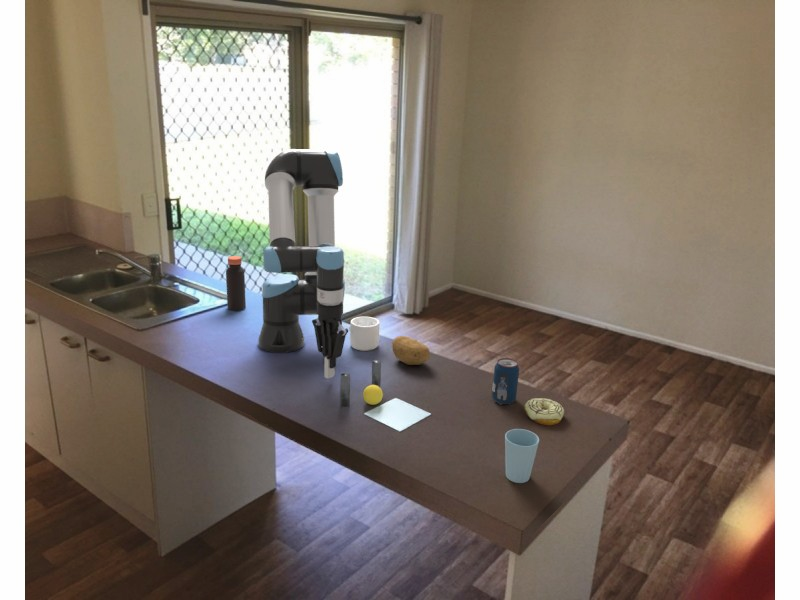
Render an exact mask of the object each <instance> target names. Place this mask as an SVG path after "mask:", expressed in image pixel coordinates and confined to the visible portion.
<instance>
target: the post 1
mask: <svg viewBox="0 0 800 600" xmlns="http://www.w3.org/2000/svg"><path fill="white" fill-rule="evenodd" d="M339 393H340V398H339V399H340V400H339V405H340V406H341V407H343V406H344V408H346V407H349V406H350V405H351V403H350V402H351V396H350V395H351V374H350V373H348V372H343V373H340V391H339Z"/></svg>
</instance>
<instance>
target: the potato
mask: <svg viewBox="0 0 800 600" xmlns="http://www.w3.org/2000/svg"><path fill="white" fill-rule="evenodd" d="M391 344H392V346H391V347H392V352H393V354H394V356H395V358H396V359H397V360H399V361H401V362H402V363H404V364H406V365H409V366H417V365H418V366H420V365H422V364H424V363H425V362H428V360H430V357H431V352H430V349H429V347H428V346H427V345H426V344H424V343H422V342H420V341H418V340H417V339H414V338H412V337H410V336H406V335H400V336H396V337H395V338H394V339H392V343H391Z"/></svg>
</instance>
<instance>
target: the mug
mask: <svg viewBox="0 0 800 600" xmlns="http://www.w3.org/2000/svg"><path fill="white" fill-rule="evenodd" d="M380 324H381V323H380V321H379V319H378V318H375V317H371V316H357V317H354V318H352V319H351V320H350V325H349V327H348V331H349V341H350V342H349V343H350V344H349V345H350V346H351V347H352V348H353V349H355V350H358V351H363V352H365V351H366V352H367V351H372V350H375V349H376V348H377V347H379V344H380Z"/></svg>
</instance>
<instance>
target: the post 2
mask: <svg viewBox="0 0 800 600" xmlns="http://www.w3.org/2000/svg"><path fill="white" fill-rule="evenodd" d="M371 364H372V366H371V385H377V386H379V387H380V388H381V387H382V385H381V383H382V381H381V380H382V361H381V360H380V359H374V360H372V361H371Z"/></svg>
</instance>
